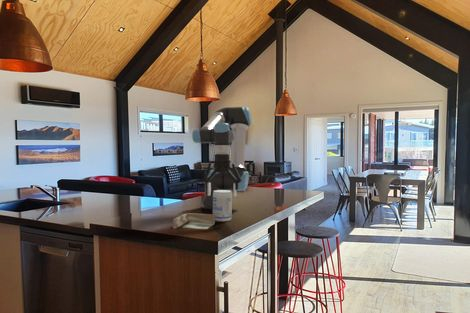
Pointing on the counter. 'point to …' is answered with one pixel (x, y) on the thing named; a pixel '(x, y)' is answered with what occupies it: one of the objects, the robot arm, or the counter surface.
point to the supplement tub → (222, 205)
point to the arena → (195, 221)
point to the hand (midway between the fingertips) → (222, 195)
